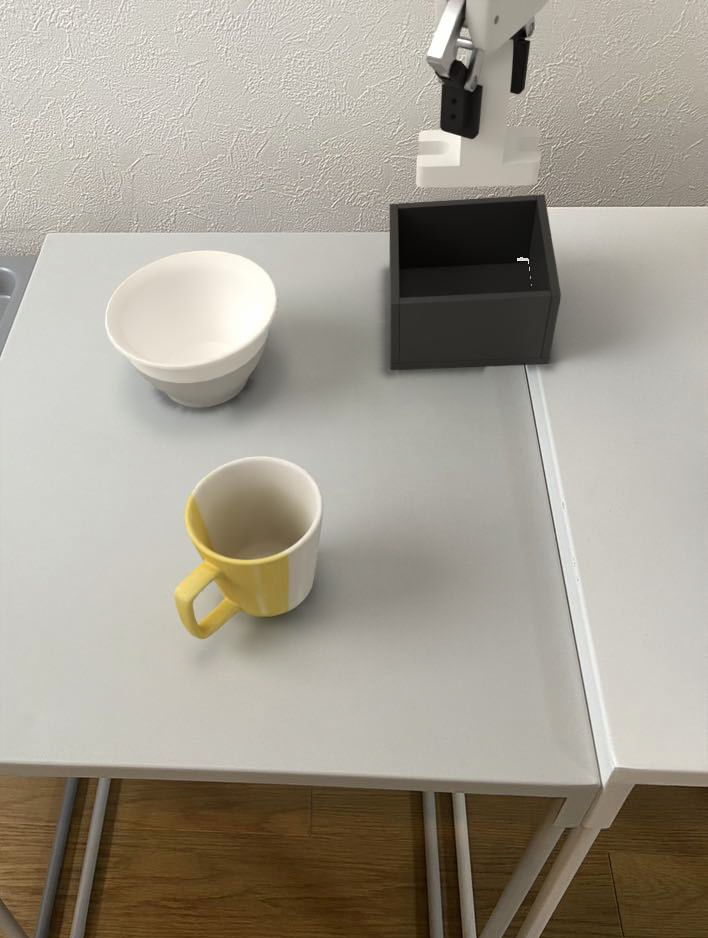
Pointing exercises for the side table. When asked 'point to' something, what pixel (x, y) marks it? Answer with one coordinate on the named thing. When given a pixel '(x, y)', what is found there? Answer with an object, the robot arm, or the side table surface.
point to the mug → (251, 540)
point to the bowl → (194, 323)
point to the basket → (472, 283)
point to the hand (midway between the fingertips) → (482, 108)
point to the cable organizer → (483, 139)
